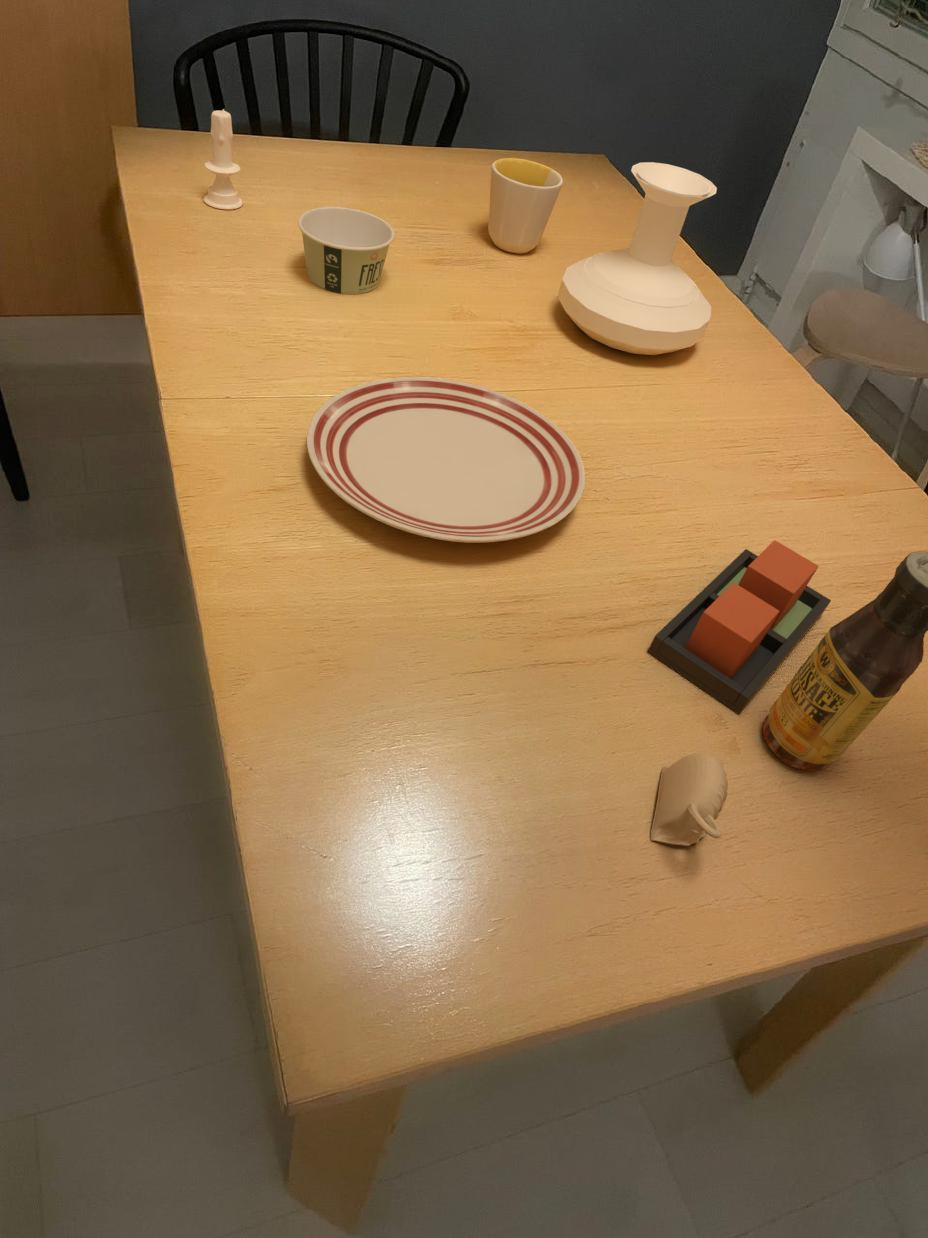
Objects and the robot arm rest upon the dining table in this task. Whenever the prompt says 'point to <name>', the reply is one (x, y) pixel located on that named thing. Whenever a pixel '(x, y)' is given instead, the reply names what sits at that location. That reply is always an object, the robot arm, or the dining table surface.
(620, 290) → the white vase
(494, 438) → the dinner plate
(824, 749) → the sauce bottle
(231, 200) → the candle
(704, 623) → the orange rectangular block
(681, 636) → the pad holder
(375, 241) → the food container
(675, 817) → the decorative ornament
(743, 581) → the orange block
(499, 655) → the dining table surface
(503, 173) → the mug
